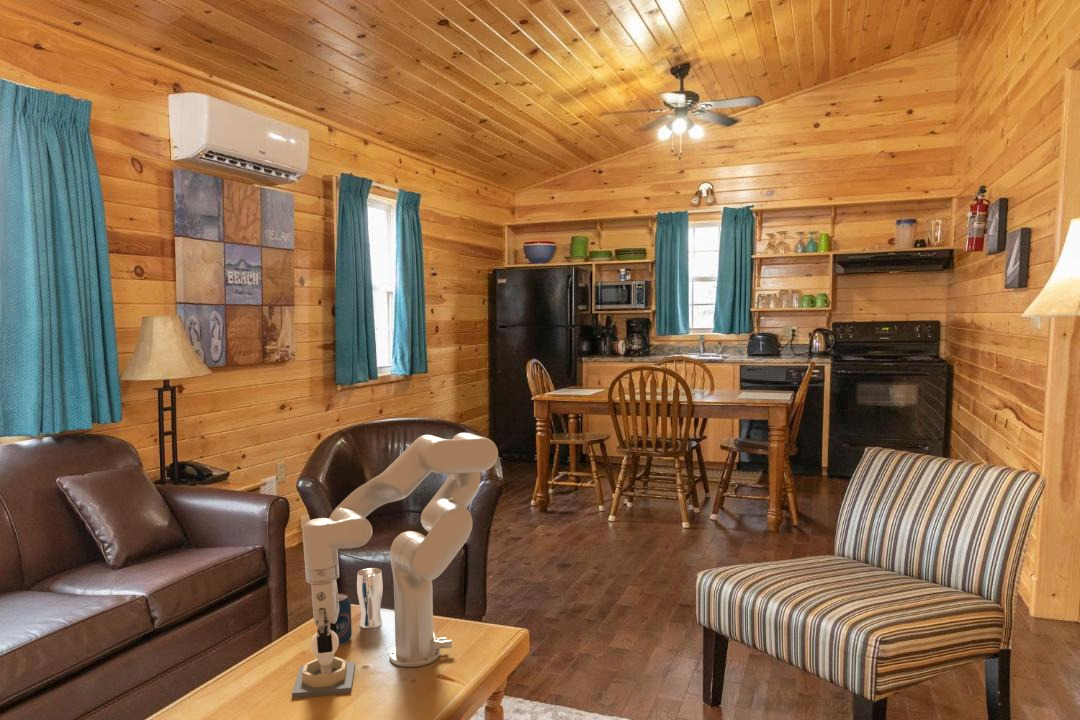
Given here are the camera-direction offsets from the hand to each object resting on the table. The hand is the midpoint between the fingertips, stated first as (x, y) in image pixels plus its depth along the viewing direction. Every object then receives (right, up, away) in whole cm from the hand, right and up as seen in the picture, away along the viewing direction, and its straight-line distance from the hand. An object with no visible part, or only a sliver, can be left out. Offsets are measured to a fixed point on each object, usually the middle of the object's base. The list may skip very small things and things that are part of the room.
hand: (327, 642), depth 175 cm
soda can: (-3, -8, +22) cm, 24 cm away
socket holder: (-1, -9, 0) cm, 9 cm away
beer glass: (+3, -7, +32) cm, 33 cm away
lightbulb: (0, -8, 0) cm, 8 cm away
